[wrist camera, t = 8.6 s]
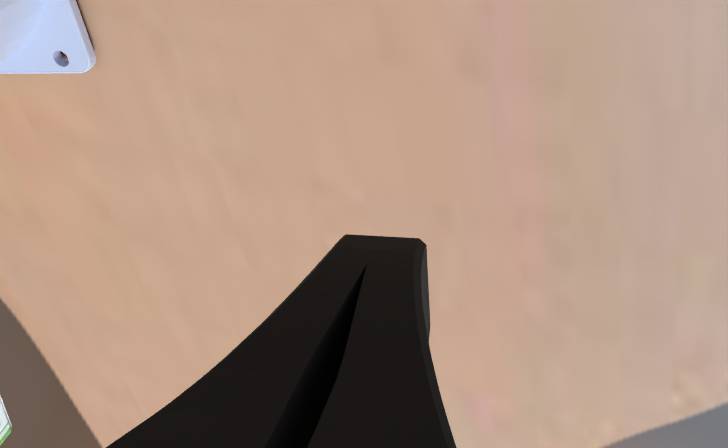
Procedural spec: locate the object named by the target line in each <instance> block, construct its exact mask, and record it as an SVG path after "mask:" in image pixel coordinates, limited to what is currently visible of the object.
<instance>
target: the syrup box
mask: <svg viewBox="0 0 728 448" xmlns="http://www.w3.org/2000/svg"><path fill="white" fill-rule="evenodd" d="M11 427H12V425H11V422H10V419H9V416H8V414H7V411H6V409H5V407H4V403H3V400H2V398H1V396H0V445H1V444H2V443H3V441H4V440H5V439H6V437H7V436H8V435H9V434H10V432H11Z"/></svg>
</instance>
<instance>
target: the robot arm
mask: <svg viewBox="0 0 728 448" xmlns="http://www.w3.org/2000/svg"><path fill="white" fill-rule="evenodd" d="M60 51H62V52H63V53H64V54H66V56H67V57H68V60H69V61H67V60H65V59H64V58H63V57H62V55H61V52H60ZM95 62H96V57H95V53H94V50H93V47H92V45H91V42H90V39H89V36H88V33H87V31H86V28H85V25H84V22H83V19H82V16H81V14H80V11H79V8H78V5H77V2H76V0H0V74H29V73H84V72H87V71H88V70H90V69H91V68H92V67H93V66H94V65H95ZM429 333H430V311H429V291H428V270H427V249H426V244H425V243H424V242H423V241H421V240H420V239H419V238H401V237H383V236H364V235H345V236H343V237H342V238H341V239H340V240H339V241H338V242H337V243H336V244H335V246H334V247H333V248H332V249H331V250H330V251H329V252H328V253H327V255H326V256H325V257H324V258H323V259H322V260H321V261H320V262H319V264H318V265H317V266H316V267H315V268H314V269H313V270H312V271H311V272H310V274H309V275H308V276H307V277H306V278H305V279H304V280H303V281H302V282H301V283H300V284H299V286H298V287H297V288H296V289H295V290H294V291H293V292H292V293H291V294H290V295H289V296H288V297H287V298H286V299H285V300H284V301H283V302H282V303H281V304H280V305H279V306H278V307H277V308H276V309H275V310H274V311H273V313H272V314H271V315H270V316H269V317H268V318H267V319H266V320H265V321H264V322H263V323H262V324H261V325H260V326H258V327H257V328H256V329H255V330H254V331H253V332H252V333H251V334H250V335H249V336H248V337H247V338H246V339H245V340H243V341H242V342H241V343H240V344H239V345H238V346H237V347H236V348H235V349H234V350H233V351H232V352H231V353H230V354H228V355H227V356H226V357H225V358H224V359H223V360H222V361H221V362H219V363H218V364H217V365H216V366H215V367H214V368H212V369H211V370H210V371H209V372H208V373H207V374H205V375H204V376H203V377H202V378H201V379H199V380H198V381H197V382H196V383H195V384H193V385H192V386H191V387H189V388H188V389H187V390H186V391H184V392H183V393H182V394H181V395H179V396H178V397H177V398H176V399H174V400H173V401H172V402H170V403H169V404H168V405H166V406H165V407H164V408H162V409H161V410H159V411H158V412H157V413H155V414H154V415H153V416H151V417H150V418H148V419H147V420H145V421H144V422H142V423H141V424H139V425H138V426H137V427H135V428H134V429H132V430H131V431H129V432H128V433H126V434H125V435H124V436H122V437H121V438H119V439H118V440H116V441H115V442H113V443H112V444H110V445H109V446H108V447H106V448H456V445H455V442H454V439H453V436H452V433H451V429H450V426H449V423H448V420H447V416H446V413H445V409H444V406H443V402H442V399H441V395H440V391H439V387H438V383H437V379H436V375H435V371H434V366H433V362H432V358H431V353H430V348H429Z"/></svg>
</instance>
